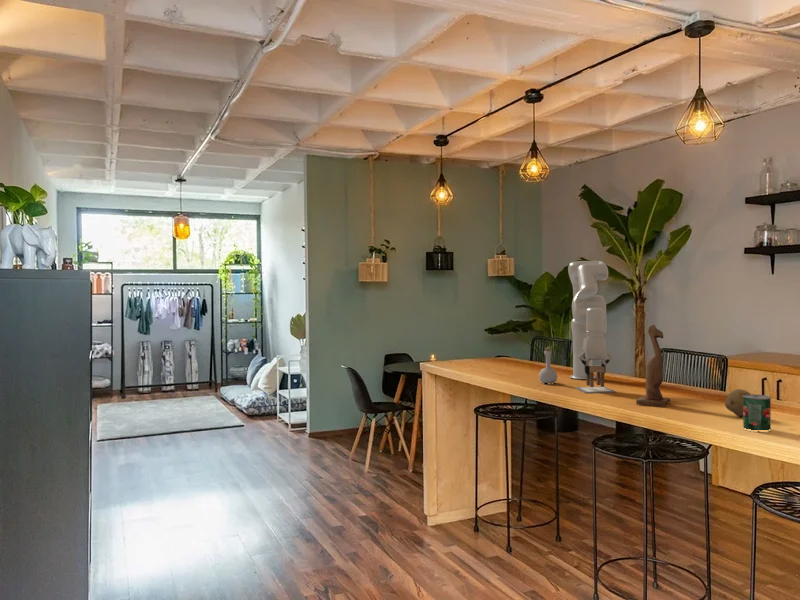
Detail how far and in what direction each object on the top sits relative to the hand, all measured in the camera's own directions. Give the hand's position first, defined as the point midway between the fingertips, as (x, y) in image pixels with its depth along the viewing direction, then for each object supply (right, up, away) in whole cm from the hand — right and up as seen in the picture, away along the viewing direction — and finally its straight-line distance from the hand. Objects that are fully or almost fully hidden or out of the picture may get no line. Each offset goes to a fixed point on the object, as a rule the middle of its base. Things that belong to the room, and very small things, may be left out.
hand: (595, 374), depth 288 cm
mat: (0, -7, 0) cm, 7 cm away
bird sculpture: (+13, -8, -34) cm, 37 cm away
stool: (0, -5, 0) cm, 5 cm away
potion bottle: (-16, -7, +22) cm, 29 cm away
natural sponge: (+33, -9, -60) cm, 69 cm away
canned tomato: (+28, -9, -80) cm, 86 cm away
